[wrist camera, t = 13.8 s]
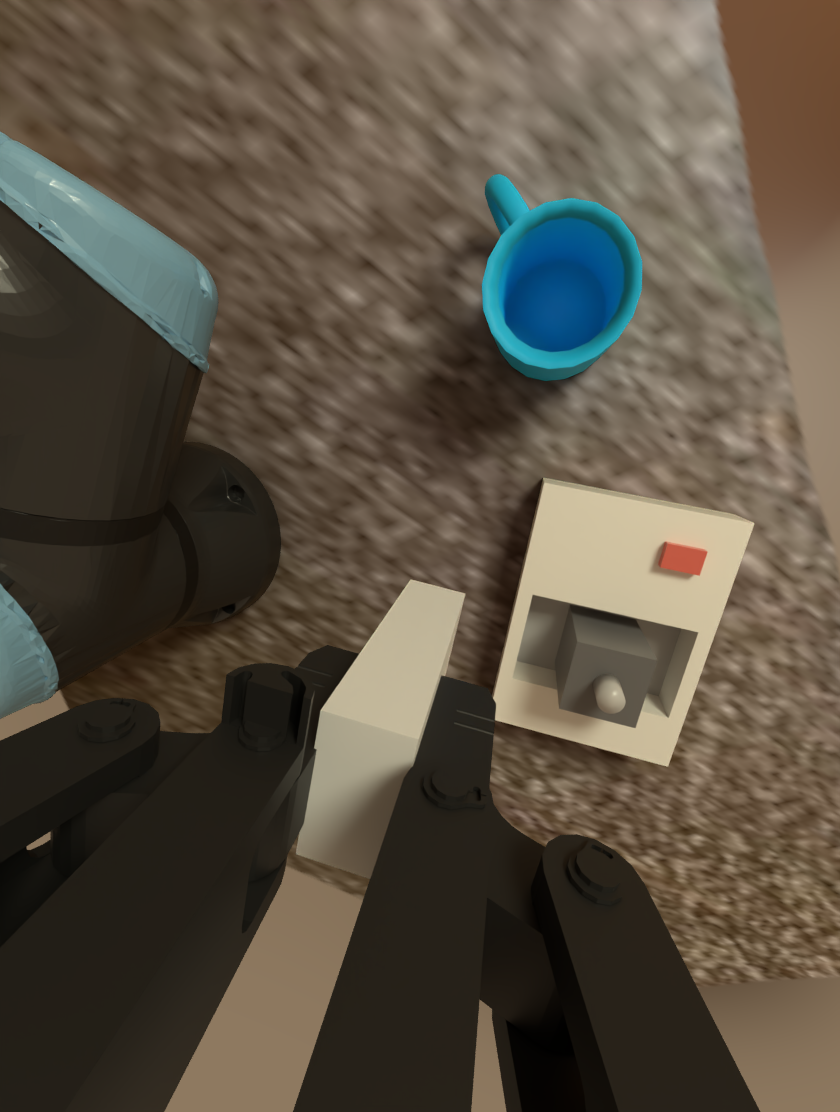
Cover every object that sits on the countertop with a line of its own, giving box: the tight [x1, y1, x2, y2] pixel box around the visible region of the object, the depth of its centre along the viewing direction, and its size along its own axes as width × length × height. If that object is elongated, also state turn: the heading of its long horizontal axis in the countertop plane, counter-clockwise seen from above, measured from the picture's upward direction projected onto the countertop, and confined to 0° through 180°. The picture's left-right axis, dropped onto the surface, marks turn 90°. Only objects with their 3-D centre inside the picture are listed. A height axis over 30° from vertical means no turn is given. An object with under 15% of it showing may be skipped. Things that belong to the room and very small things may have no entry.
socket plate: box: [492, 478, 754, 767], centre depth 37 cm, size 13×18×4 cm
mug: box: [482, 174, 642, 381], centre depth 31 cm, size 12×8×8 cm
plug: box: [555, 605, 657, 728], centre depth 35 cm, size 5×5×9 cm
